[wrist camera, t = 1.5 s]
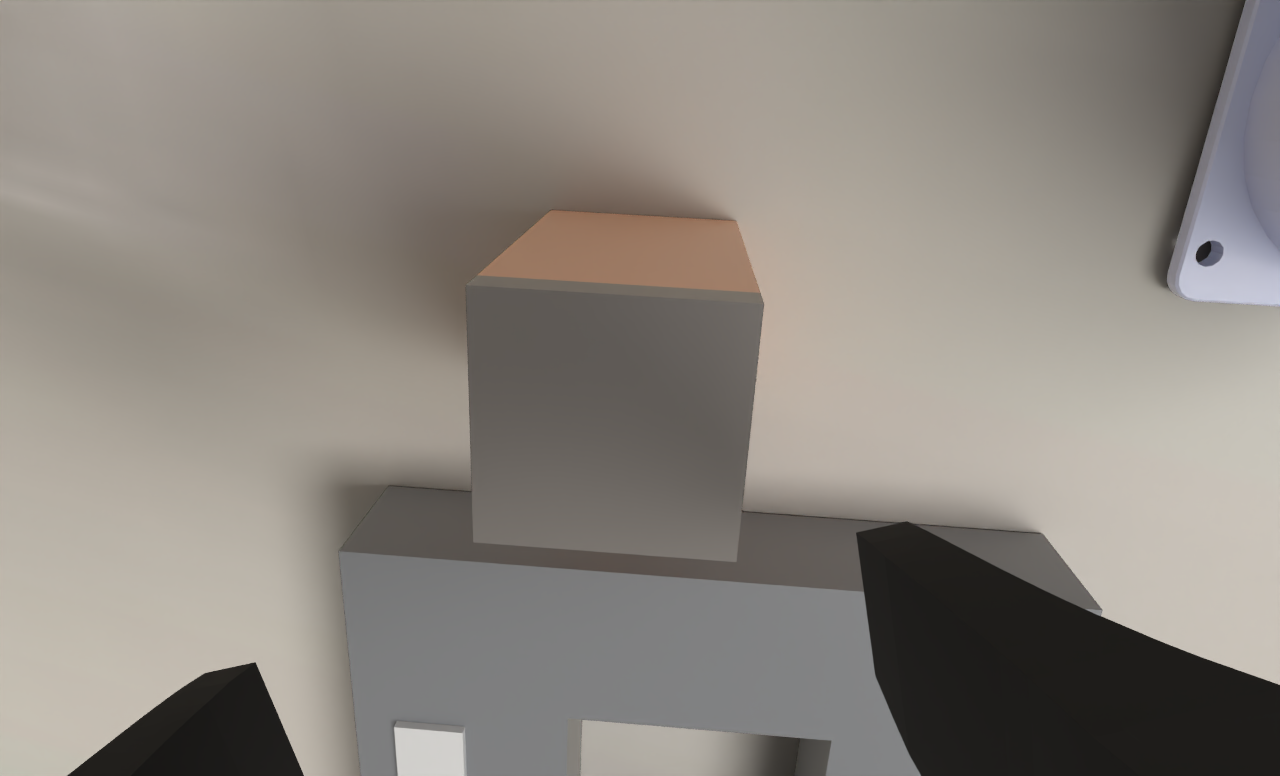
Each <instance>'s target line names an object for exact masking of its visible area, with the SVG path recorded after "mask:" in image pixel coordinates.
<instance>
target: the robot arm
mask: <svg viewBox="0 0 1280 776" xmlns="http://www.w3.org/2000/svg"><path fill="white" fill-rule="evenodd" d="M1207 241H1210V243H1211V252H1210V254H1209V255H1208V257H1207V258H1205V259H1204V260H1203V261H1201V262H1197V261H1196V252H1197V250H1198V248H1199V247H1200V246H1201V245H1202V244H1204V243H1205V242H1207ZM1167 283H1168V286H1169V289H1170V290H1171V291H1172V292H1173V293H1174V294H1175V295H1177V296H1179V297H1182V298H1184V299H1187V300H1191V301H1198V302H1215V303H1231V304H1247V305H1263V306H1280V0H1246V1H1245V5H1244V8H1243V12H1242V15H1241V19H1240V22H1239V26H1238V29H1237V33H1236V36H1235V40H1234V43H1233V47H1232V50H1231V54H1230V57H1229V61H1228V64H1227V67H1226V71H1225V74H1224V78H1223V81H1222V85H1221V88H1220V92H1219V95H1218V99H1217V102H1216V106H1215V109H1214V113H1213V116H1212V120H1211V123H1210V127H1209V130H1208V134H1207V137H1206V141H1205V144H1204V148H1203V151H1202V155H1201V158H1200V162H1199V165H1198V169H1197V172H1196V176H1195V179H1194V183H1193V186H1192V189H1191V193H1190V196H1189V200H1188V203H1187V207H1186V210H1185V214H1184V217H1183V221H1182V224H1181V228H1180V231H1179V235H1178V238H1177V242H1176V245H1175V249H1174V252H1173V256H1172V259H1171V263H1170V266H1169V270H1168V274H1167ZM856 536H857V544H858V551H859V559H860V566H861V574H862V581H863V588H864V596H865V603H866V611H867V618H868V625H869V633H870V640H871V648H872V655H873V663H874V670H875V676H876V679H877V681H878V684H879V686H880V688H881V691H882V693H883V695H884V698H885V700H886V703H887V705H888V707H889V710H890V712H891V714H892V717H893V719H894V721H895V724H896V726H897V728H898V730H899V733H900V735H901V737H902V740H903V742H904V744H905V746H906V749H907V751H908V753H909V755H910V757H911V759H912V761H913V762H914V764H915V766H916V768H917V769H918V771H919V773H920V775H921V776H1280V685H1278V684H1275V683H1272V682H1270V681H1267V680H1264V679H1261V678H1258V677H1255V676H1253V675H1250V674H1247V673H1244V672H1241V671H1238V670H1235V669H1233V668H1230V667H1227V666H1224V665H1221V664H1218V663H1216V662H1213V661H1210V660H1207V659H1204V658H1201V657H1199V656H1196V655H1194V654H1191V653H1188V652H1186V651H1183V650H1181V649H1178V648H1175V647H1173V646H1170V645H1168V644H1165V643H1163V642H1160V641H1158V640H1155V639H1153V638H1151V637H1148V636H1146V635H1144V634H1141V633H1139V632H1137V631H1134V630H1132V629H1130V628H1127V627H1125V626H1122V625H1120V624H1118V623H1115V622H1113V621H1111V620H1108V619H1106V618H1104V617H1101V616H1099V615H1097V614H1094V613H1092V612H1090V611H1088V610H1086V609H1083V608H1081V607H1079V606H1077V605H1075V604H1073V603H1070V602H1068V601H1066V600H1064V599H1062V598H1060V597H1057V596H1055V595H1053V594H1051V593H1049V592H1047V591H1045V590H1043V589H1041V588H1039V587H1037V586H1035V585H1033V584H1030V583H1028V582H1026V581H1024V580H1022V579H1020V578H1018V577H1016V576H1014V575H1012V574H1010V573H1008V572H1006V571H1004V570H1002V569H1000V568H998V567H996V566H994V565H992V564H991V563H989V562H987V561H985V560H983V559H981V558H979V557H977V556H975V555H973V554H971V553H969V552H967V551H965V550H963V549H962V548H960V547H958V546H956V545H954V544H952V543H950V542H948V541H946V540H944V539H942V538H940V537H938V536H936V535H934V534H932V533H930V532H929V531H927V530H924V529H922V528H920V527H918V526H916V525H914V524H912V523H909V522H902V523H898V524H893V525H888V526H884V527H879V528H875V529H870V530H865V531H861V532H856ZM68 776H304V775H303V772H302V770H301V768H300V765H299V763H298V761H297V758H296V756H295V754H294V751H293V749H292V747H291V744H290V742H289V740H288V737H287V735H286V733H285V730H284V728H283V726H282V723H281V721H280V719H279V716H278V714H277V712H276V709H275V707H274V705H273V702H272V700H271V698H270V695H269V693H268V691H267V688H266V686H265V683H264V681H263V679H262V676H261V674H260V672H259V669H258V667H257V665H256V662H255V663H250V664H245V665H241V666H236V667H232V668H227V669H222V670H218V671H213V672H208V673H205V674H203V675H201V676H200V677H198V678H197V679H195V680H194V681H192V682H190V683H189V684H187V685H186V686H184V687H183V688H181V689H180V690H178V691H177V692H176V693H174V694H173V695H171V696H170V697H169V698H167V699H166V700H165V701H163V702H162V703H160V704H159V705H158V706H156V707H155V708H154V709H152V710H151V711H150V712H148V713H147V714H146V715H144V716H143V717H142V718H141V719H139V720H138V721H137V722H135V723H134V724H133V725H131V726H130V727H129V728H128V729H126V730H125V731H124V732H122V733H121V734H120V735H119V736H117V737H116V738H115V739H113V740H112V741H111V742H110V743H108V744H107V745H106V746H105V747H103V748H102V749H101V750H99V751H98V752H97V753H96V754H94V755H93V756H92V757H91V758H89V759H88V760H87V761H85V762H84V763H83V764H82V765H80V766H79V767H78V768H76V769H75V770H74V771H73V772H71V773H70V774H69V775H68Z"/></svg>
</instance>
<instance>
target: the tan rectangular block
mask: <svg viewBox="0 0 1280 776" xmlns="http://www.w3.org/2000/svg"><path fill="white" fill-rule="evenodd" d="M763 308H764V302H763V299H762V296H761V293H760V290H759V287H758V284H757V281H756V278H755V275H754V272H753V269H752V266H751V263H750V260H749V257H748V254H747V251H746V248H745V245H744V242H743V239H742V236H741V233H740V231H739V228H738V225H737V222H736V221H730V220H713V219H696V218H679V217H662V216H645V215H628V214H611V213H594V212H577V211H560V210H550V211H549V212H548V213H547V214H546V215H545V216H544V217H542V218H541V219H540V220H539V221H538V222H537V223H536V224H534V225H533V226H532V227H531V228H530V229H529V230H528V231H527V232H525V233H524V234H523V235H522V236H521V237H520V238H519V239H517V240H516V241H515V242H514V243H513V244H512V245H511V246H510V247H508V248H507V249H506V250H505V251H504V252H503V253H502V254H500V255H499V256H498V257H497V258H496V259H495V260H494V261H492V262H491V263H490V264H489V265H488V266H487V267H486V268H485V269H483V270H482V271H481V272H480V273H479V274H478V275H477V276H475V277H474V278H473V279H472V280H471V281H470V282H469V283H468V284H466V313H467V347H468V381H469V415H470V449H471V484H472V518H473V542H475V543H488V544H501V545H515V546H528V547H541V548H555V549H568V550H581V551H595V552H608V553H621V554H635V555H648V556H661V557H675V558H688V559H701V560H715V561H728V562H736V561H737V552H738V542H739V533H740V524H741V514H742V505H743V496H744V486H745V477H746V468H747V458H748V449H749V439H750V430H751V421H752V411H753V402H754V393H755V383H756V374H757V364H758V355H759V346H760V336H761V327H762V318H763Z"/></svg>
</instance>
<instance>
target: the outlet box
mask: <svg viewBox="0 0 1280 776" xmlns="http://www.w3.org/2000/svg"><path fill="white" fill-rule="evenodd" d="M893 524H898V523H886V522H873V521H859V520H845V519H832V518H818V517H805V516H791V515H777V514H764V513H750V512H742V514H741V524H740V533H739V542H738V552H737V561H736V562H728V561H715V560H701V559H688V558H675V557H661V556H648V555H635V554H621V553H608V552H595V551H581V550H568V549H555V548H541V547H528V546H515V545H501V544H488V543H475V542H473V518H472V492H464V491H451V490H437V489H424V488H410V487H396V486H388V487H387V488H386V490H385V491H384V492H383V494H382V495H381V496H380V498H379V499H378V500H377V502H376V503H375V504H374V505H373V507H372V508H371V509H370V511H369V512H368V513H367V515H366V516H365V517H364V519H363V520H362V521H361V523H360V524H359V525H358V526H357V528H356V529H355V530H354V532H353V533H352V534H351V536H350V537H349V538H348V540H347V541H346V542H345V544H344V545H343V546H342V547H341V549H340V550H339V561H340V571H341V581H342V592H343V602H344V612H345V622H346V632H347V642H348V652H349V662H350V673H351V683H352V693H353V703H354V713H355V723H356V733H357V743H358V754H359V764H360V774H361V776H580V770H581V735H582V720H593V721H605V722H616V723H628V724H640V725H652V726H664V727H676V728H687V729H699V730H711V731H723V732H735V733H746V734H758V735H770V736H782V737H794V738H800V741H799V748H798V754H797V761H796V767H795V774H794V776H921V775H920V773H919V771H918V769H917V768H916V766H915V764H914V762H913V761H912V759H911V757H910V755H909V753H908V751H907V749H906V746H905V744H904V742H903V740H902V737H901V735H900V733H899V730H898V728H897V726H896V724H895V721H894V719H893V717H892V714H891V712H890V710H889V707H888V705H887V703H886V700H885V698H884V695H883V693H882V691H881V688H880V686H879V684H878V681H877V679H876V676H875V670H874V663H873V655H872V648H871V640H870V633H869V625H868V618H867V611H866V603H865V596H864V588H863V581H862V574H861V566H860V559H859V551H858V544H857V536H856V532H861V531H865V530H870V529H875V528H879V527H884V526H888V525H893ZM916 526H918V527H920V528H922V529H924V530H927V531H929V532H930V533H932V534H934V535H936V536H938V537H940V538H942V539H944V540H946V541H948V542H950V543H952V544H954V545H956V546H958V547H960V548H962V549H963V550H965V551H967V552H969V553H971V554H973V555H975V556H977V557H979V558H981V559H983V560H985V561H987V562H989V563H991V564H992V565H994V566H996V567H998V568H1000V569H1002V570H1004V571H1006V572H1008V573H1010V574H1012V575H1014V576H1016V577H1018V578H1020V579H1022V580H1024V581H1026V582H1028V583H1030V584H1033V585H1035V586H1037V587H1039V588H1041V589H1043V590H1045V591H1047V592H1049V593H1051V594H1053V595H1055V596H1057V597H1060V598H1062V599H1064V600H1066V601H1068V602H1070V603H1073V604H1075V605H1077V606H1079V607H1081V608H1083V609H1086V610H1088V611H1090V612H1092V613H1094V614H1097V615H1099V616H1101V614H1102V609H1101V608H1100V606H1099V605H1098V604H1097V602H1096V601H1095V600H1094V599H1093V597H1092V596H1091V595H1090V594H1089V592H1088V591H1087V590H1086V588H1085V587H1084V586H1083V585H1082V583H1081V582H1080V581H1079V579H1078V578H1077V577H1076V576H1075V574H1074V573H1073V572H1072V571H1071V569H1070V568H1069V567H1068V565H1067V564H1066V563H1065V562H1064V560H1063V559H1062V558H1061V556H1060V555H1059V554H1058V553H1057V551H1056V550H1055V549H1054V547H1053V546H1052V545H1051V544H1050V542H1049V541H1048V540H1047V539H1046V537H1045V536H1044V535H1043V534H1036V533H1022V532H1009V531H995V530H982V529H968V528H954V527H941V526H927V525H916Z"/></svg>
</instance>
